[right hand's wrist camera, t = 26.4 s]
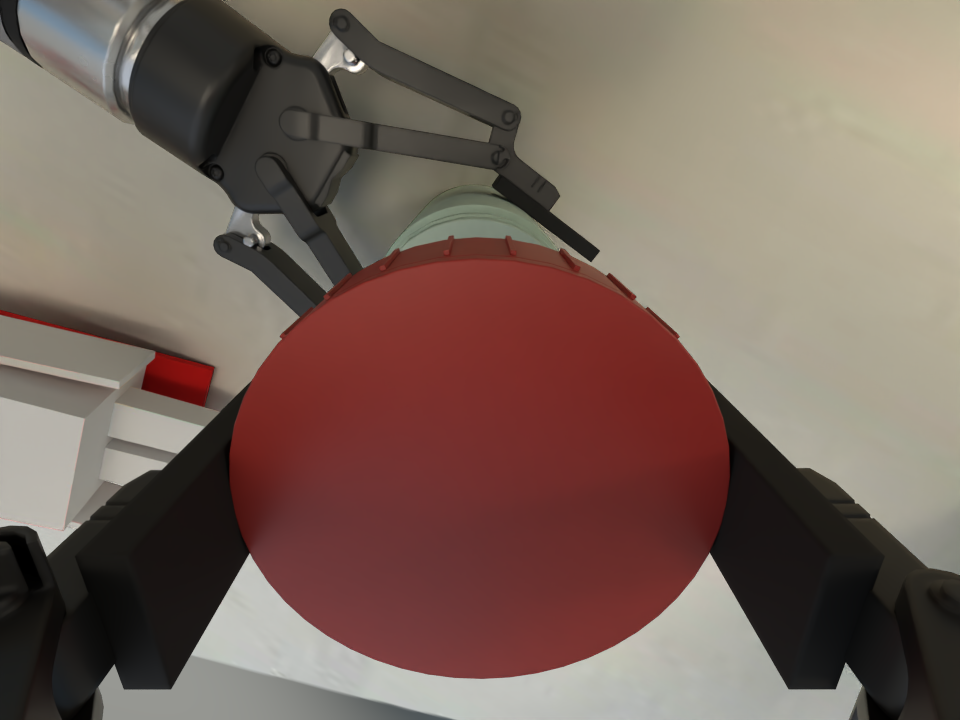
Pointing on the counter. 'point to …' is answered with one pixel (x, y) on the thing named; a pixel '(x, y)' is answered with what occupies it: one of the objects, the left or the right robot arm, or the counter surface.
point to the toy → (86, 418)
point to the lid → (479, 461)
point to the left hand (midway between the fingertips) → (537, 319)
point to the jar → (471, 219)
